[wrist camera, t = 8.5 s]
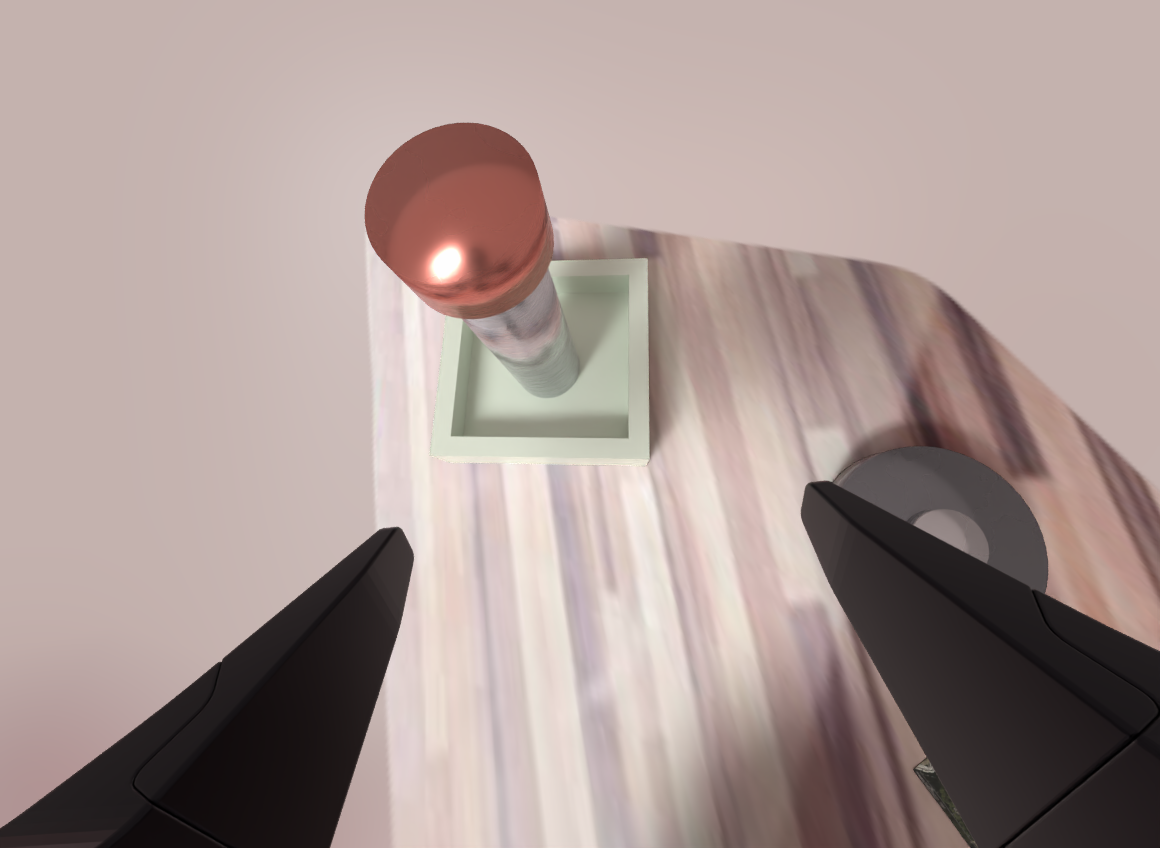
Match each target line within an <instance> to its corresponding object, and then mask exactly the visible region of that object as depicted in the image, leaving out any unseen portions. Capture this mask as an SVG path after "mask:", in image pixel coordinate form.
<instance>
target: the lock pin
mask: <svg viewBox="0 0 1160 848" xmlns="http://www.w3.org/2000/svg"><path fill="white" fill-rule="evenodd" d="M365 226H366V230H367V235H368V238H369V240H370V243H371V245H372V247H373V248H374V250H375V252H376V253H377V255H378V256H379V257H380V258H381V260H382V261H383V262H384V263H385V264H386V265H387V266H388V267H389V268H390V269H391V270H392V271H393V272H394V273H395V274H396V275H397V276H398V277H399V278H400V279H401V280H402V281H403V282H404V283H405V284H406V285H407V286H408V287H409V288H410V289H411V290H412V291H413V292H414V293H415V294H416V295H417V296H418V297H419V298H420V299H421V300H423V301H424V302H425V303H426V304H427V305H428V306H430V307H431V308H433V309H434V310H436V311H438V312H440V313H442V314H444V315H447V316H450V317H454V318H460V319H462V320H463V321H464V322H465V323H466V324H467V325H468V327H469V328H470V329H471V330H472V331H473V332H474V333H475V334H476V335H477V337H478V338H479V339H480V340H481V341H482V342H483V343H484V344H485V346H486V347H487V348H488V349H489V350H490V351H491V352H492V353H493V354H494V356H495V357H496V358H497V359H498V360H499V361H500V362H501V363H502V364H503V366H504V367H505V368H506V369H507V370H508V371H509V372H510V373H511V374H512V376H513V377H514V378H515V379H516V380H517V381H518V382H519V383H520V384H521V386H522V387H523V388H524V389H525V390H526V391H527V392H529V393H530V394H532V395H534V396H536V397H540V398H553V397H557V396H560V395H562V394H564V393H565V392H567V391H568V390H569V389H570V388H571V387H572V386H573V385H574V383H575V382H576V380H577V378H578V375H579V371H580V361H579V357H578V354H577V351H576V348H575V345H574V342H573V339H572V336H571V333H570V330H569V328H568V325H567V322H566V319H565V316H564V313H563V310H562V307H561V304H560V301H559V298H558V295H557V292H556V289H555V286H554V283H553V280H552V277H551V274H550V271H549V268H548V267H549V265H550V262H551V259H552V254H553V247H554V235H553V229H552V224H551V221H550V217H549V214H548V210H547V206H546V203H545V199H544V195H543V192H542V188H541V184H540V181H539V177H538V173H537V170H536V168H535V165H534V162H533V161H532V159H531V157H530V155H529V153H528V152H527V151H526V150H525V148H524V147H523V146H522V145H521V144H520V143H519V142H518V141H517V140H516V139H515V138H513V137H512V136H510V135H509V134H507V133H505V132H503V131H501V130H499V129H497V128H494V127H491V126H488V125H483V124H478V123H454V124H447V125H443V126H440V127H435V128H433V129H430V130H428V131H425V132H423V133H421V134H419V135H417V136H415V137H413V138H412V139H410V140H409V141H407V142H406V143H404V144H403V145H402V146H401V147H399V148H398V149H397V150H396V151H395V152H394V153H393V154H392V155H391V156H390V157H389V158H388V159H387V160H386V161H385V163H384V164H383V165H382V167H381V168H380V169H379V171H378V173H377V174H376V176H375V178H374V180H373V182H372V184H371V187H370V189H369V193H368V196H367V200H366V205H365Z"/></svg>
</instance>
